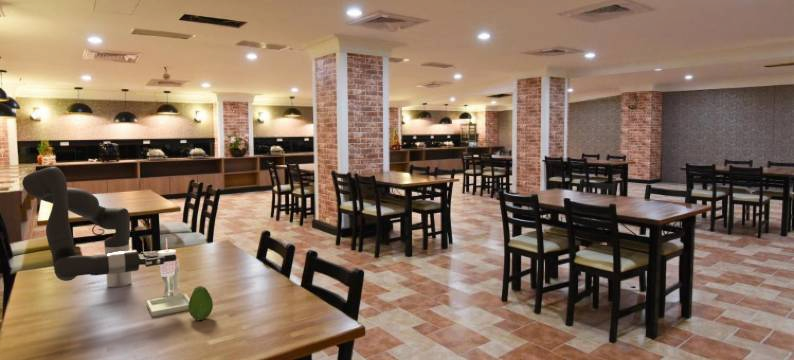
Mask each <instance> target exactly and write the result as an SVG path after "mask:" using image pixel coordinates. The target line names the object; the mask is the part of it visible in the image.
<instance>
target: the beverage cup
mask: <svg viewBox="0 0 794 360" xmlns="http://www.w3.org/2000/svg"><path fill="white" fill-rule="evenodd" d="M157 251H158V255H159V256H166V255H174V254H175V255H176V253H177V250H176V249H171V248H169V249H168V237H165V249H162V250H157ZM158 261H160V259H158ZM159 269H160V276H162V277H169V276H173V275H174V274H175V261H169V262H165V263H164V264H161V265H159ZM162 277H161V278H162Z"/></svg>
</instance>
